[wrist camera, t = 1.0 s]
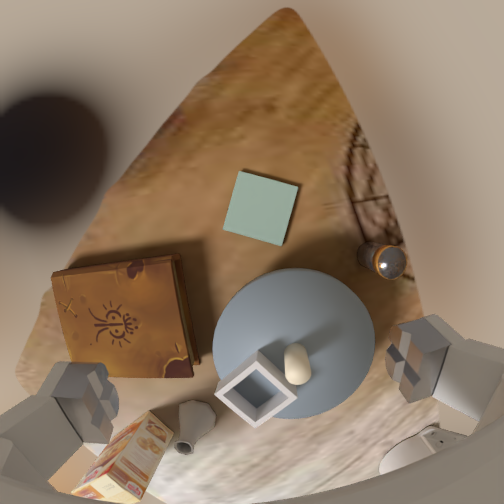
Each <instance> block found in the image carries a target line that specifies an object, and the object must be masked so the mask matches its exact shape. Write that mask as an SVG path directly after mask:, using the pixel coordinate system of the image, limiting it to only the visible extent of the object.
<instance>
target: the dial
mask: <svg viewBox="0 0 504 504" xmlns="http://www.w3.org/2000/svg"><path fill="white" fill-rule="evenodd" d="M374 350H375V332H374V328H373V323H372V320H371V318H370V315H369V313H368V311H367V309H366V307H365V305H364V304H363V303H362V301H361V300H360V299H359V298H358V296H357V295H356V294H355V293H353V292H352V291H351V290H350V289H349V288H348V287H347V286H346V285H345V284H343V283H342V282H341V281H339V280H338V279H336V278H334V277H332V276H330V275H328V274H326V273H323V272H320V271H317V270H312V269H306V268H286V269H280V270H275V271H272V272H269V273H266V274H264V275H261V276H259V277H257V278H255V279H254V280H252V281H250V282H249V283H247V284H246V285H245V286H244V287H242V288H241V289H240V290H239V291H238V292H237V293H236V294H235V295H234V296H233V297H232V299H231V300H230V301H229V303H228V304H227V306H226V307H225V309H224V311H223V313H222V315H221V317H220V319H219V321H218V323H217V326H216V329H215V333H214V338H213V359H214V363H215V367H216V370H217V373H218V375H219V378H220V379H221V380H220V381H219V382H218V385H217V388H216V391H215V393H214V395H215V396H216V397H218V398H219V399H220V400H221V401H222V402H223V403H225V404H226V405H227V406H228V407H229V408H230V409H232V410H233V411H234V412H235V413H236V414H238V415H239V416H240V417H241V418H243V419H244V420H245V421H246V422H247V423H249V424H250V425H251V426H253V427H254V428H256V427H258V426H259V425H261V424H262V423H264V422H265V421H267V420H268V419H269V418H271V417H276V418H283V419H298V418H305V417H311V416H314V415H318V414H321V413H323V412H326V411H328V410H330V409H332V408H334V407H336V406H338V405H339V404H340V403H342V402H343V401H345V400H346V399H347V398H348V397H349V396H350V395H352V394H353V393H354V391H355V390H356V389H357V388H358V387H359V386H360V384H361V383H362V381H363V380H364V379H365V377H366V375H367V373H368V371H369V369H370V366H371V363H372V360H373V356H374Z"/></svg>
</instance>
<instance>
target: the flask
mask: <svg viewBox="0 0 504 504" xmlns="http://www.w3.org/2000/svg"><path fill="white" fill-rule="evenodd" d="M215 420H216V414H215V413H214V411H213V410H212V408H211V407H210V405H209V404H208V403H204V402H199V401H195V400H190V401H188V402H185V403H182V404H179V424H180V436H179V439H178V440H177V441H175V449H176V450H177V451H178V452H179V453H181V454H185V455H188V454H192V453H193V450H194V444H195V443H196V442H197V440H198V439H199V438H201V437H202V436H203V435H204V434H206V433H207V432H208V431H210V430H211V429H212V428H213V427H215Z"/></svg>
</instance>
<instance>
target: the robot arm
mask: <svg viewBox="0 0 504 504" xmlns="http://www.w3.org/2000/svg"><path fill="white" fill-rule="evenodd" d="M389 339H390V341H391V342H392V344H391V345H390V346H389V348H388V349H387V350H386V357H385V362H386V369H387V371H388V374H389V375H390V377H391V378H392V380H394V381H397V382H399V383H400V386H399V390H400V392H401V393H402V395H403V396H404V397H405V399H406V400H407V402H408V403H412V402H415V401H418V400H421V399H424V398H427V397H430V396H432V395H433V397H434V398H436V399H438V400H439V401H441V402H443V403H445V404H447V405H449V406H451V407H453V408H454V409H456V410H458V411H460V412H462V413H464V414H465V415H467V416H469V417H471V418H473V419H475V420H477V421H479V423H478V425H477V426H476V428H475V430H474V431H473V434H471V435H470V436H468V437H467V436H466V435H462V434H459V433H454V432H451V431H448V430H444V429H441V428H437V427H434V426H428V427H427V428H425V429H424V430H422V431H421V432H420V433H419V434H417V435H415V436H413V437H411V438H408V439H406V440H404V441H403V442H401V443H399V444H398V445H396V446H395V447H394V448H393V449H391V450H390V451H389V452H388V453H387V454H386V456H385V457H384V458H383V460H382V461H381V464H380V467H379V473H380V475H379V476H376V477H373V478H370V479H367V480H364V481H361V482H357V483H354V484H350V485H347V486H343V487H340V488H336V489H332V490H328V491H324V492H319V493H315V494H310V495H305V496H300V497H295V498H289V499H283V500H277V501H270V502H263V503H254V504H504V349H502V348H499V347H496V346H493V345H489V344H486V343H482V342H479V341H476V340H472V339H467V340H465V339H464V338H463V337H462V336H461V335H460V334H459V333H457V332H456V331H455V330H454V329H453V328H452V327H451V326H450V325H448V324H447V323H446V322H445V321H444V320H443V319H442V318H440V317H439V316H438V315H435V314H432V315H429V316H425V317H422V318H420V319H417V320H413V321H410V322H406V323H402V324H398V325H394V326H392V327H391V329H390V332H389ZM108 375H109V373H108V370H107V368H106V366H105V365H104V364H103V363H101V362H64V361H59V362H57V363H55V365H54V366H53V368H52V369H51V371H50V373H49V374H48V376H47V378H46V379H45V381H44V383H43V384H42V386H41V388H40V389H39V391H38V393H37V394H36V395H31V396H30V397H28V398H27V399H25V400H24V401H22V402H20V403H19V404H17V405H16V406H14V407H13V408H11V409H9V410H8V411H6V412H5V413H4V414H2V415H0V504H123V503H115V502H108V501H102V500H95V499H90V498H84V497H79V496H74V495H70V494H65V493H61V492H58V491H57V490H56V489H55V488H54V487H53V486H52V485H51V484H50V483H49V482H48V480H49V479H50V478H51V477H52V476H53V475H54V473H55V472H56V471H57V470H58V469H59V468H60V467H61V466H62V465H63V464H64V463H65V462H66V461H67V460H68V459H69V458H70V457H71V456H72V455H73V454H74V453H75V452H76V451H77V450H78V449H79V448H80V447H81V446H82V445H83V442H86V443H100V444H109V441H110V438H111V434H112V431H113V425H112V423H111V420H112V419H114V418H115V417H116V416H117V413H118V410H119V398H118V394H117V391H116V388H115V386H114V385H113V384H112V383H111V382H109V381H108V380H107V378H108Z"/></svg>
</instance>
